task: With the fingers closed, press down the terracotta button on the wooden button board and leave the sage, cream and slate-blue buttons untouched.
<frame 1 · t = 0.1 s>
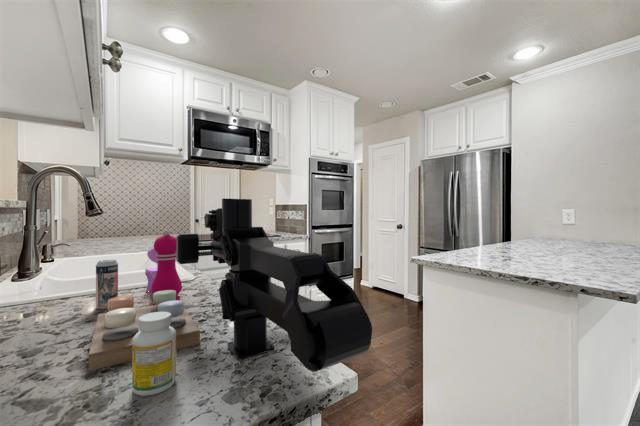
hand: (212, 243, 72), 17 cm above the countertop, tool horizontal, fingers open, 9 cm apart
slate blue button: (171, 308, 56), point 6 cm above the countertop, slide at 0.0 cm
terracotta button: (120, 303, 59), point 6 cm above the countertop, slide at 0.0 cm
wooden button board: (145, 334, 58), on the countertop
sage button: (164, 297, 64), point 6 cm above the countertop, slide at 0.0 cm
supplement bottle: (155, 386, 40), on the countertop
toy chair: (160, 293, 89), on the countertop
beer can: (107, 307, 75), on the countertop
cream button: (120, 317, 51), point 6 cm above the countertop, slide at 0.0 cm
pepper mill: (166, 305, 77), on the countertop
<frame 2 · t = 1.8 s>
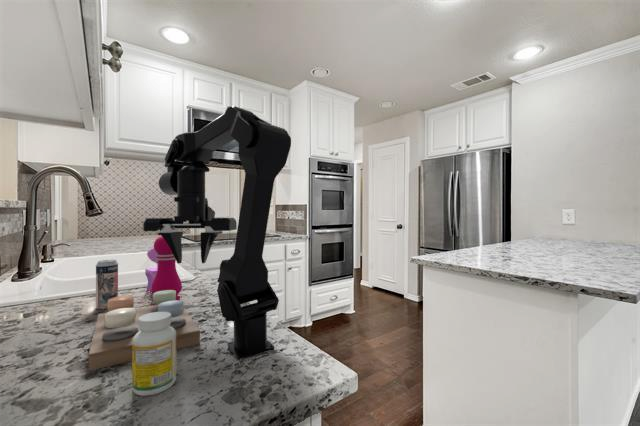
hand: (191, 263, 64), 13 cm above the countertop, tool pointing down, fingers open, 5 cm apart
nothing on the countertop moved.
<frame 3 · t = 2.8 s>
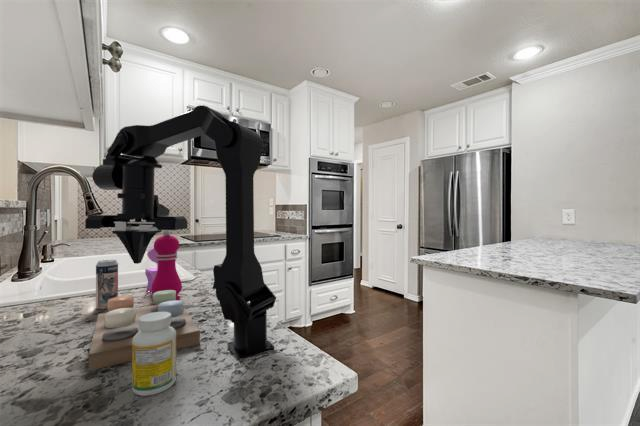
hand: (137, 263, 61), 14 cm above the countertop, tool pointing down, fingers closed
nothing on the countertop moved.
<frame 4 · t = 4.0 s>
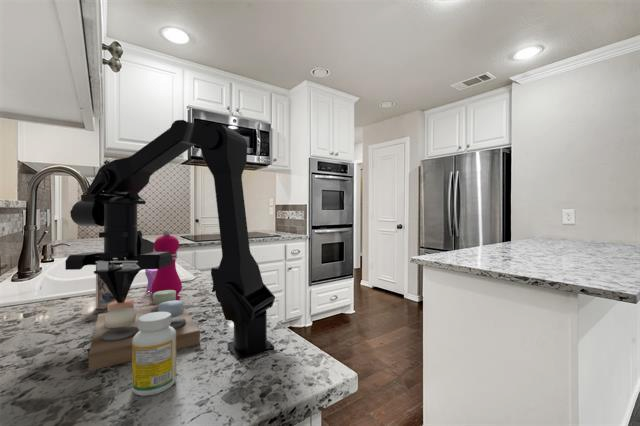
hand: (121, 302, 59), 6 cm above the countertop, tool pointing down, fingers closed, pressing on terracotta button
terracotta button: (120, 307, 59), point 5 cm above the countertop, slide at 0.8 cm, touching gripper
everything else where it was.
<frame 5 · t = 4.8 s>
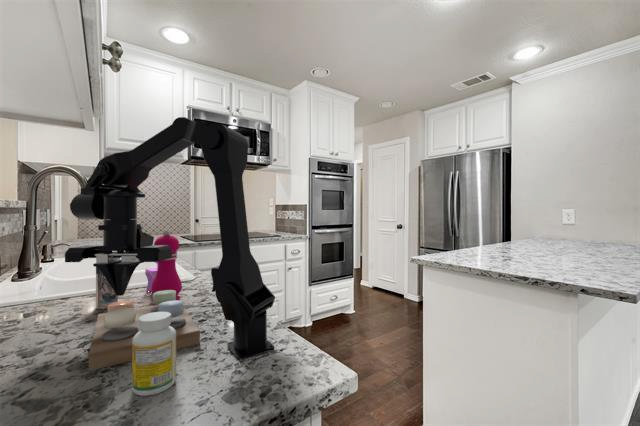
hand: (120, 295, 60), 7 cm above the countertop, tool pointing down, fingers closed
terracotta button: (120, 308, 59), point 5 cm above the countertop, slide at 1.1 cm
everything else where it was.
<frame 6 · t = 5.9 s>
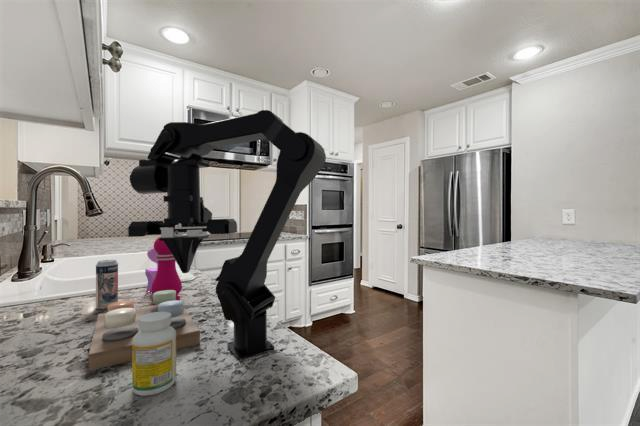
hand: (185, 272, 55), 13 cm above the countertop, tool pointing down, fingers closed
nothing on the countertop moved.
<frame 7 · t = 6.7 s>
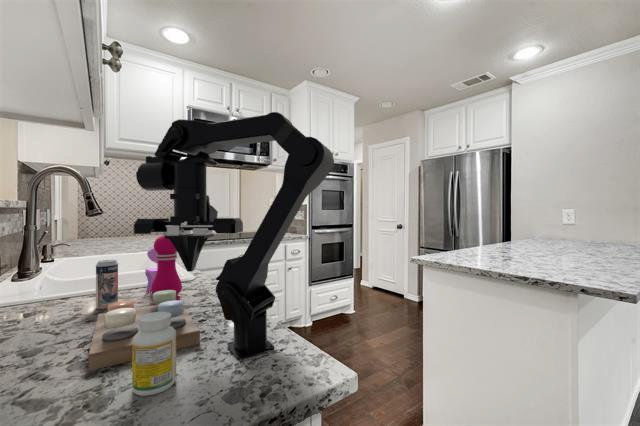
hand: (190, 271, 55), 13 cm above the countertop, tool pointing down, fingers closed
nothing on the countertop moved.
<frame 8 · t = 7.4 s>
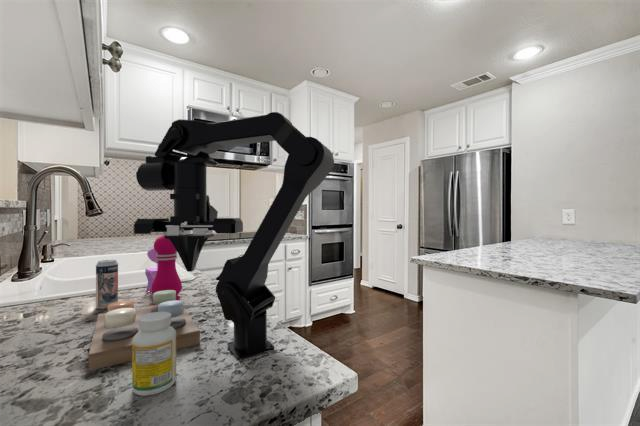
hand: (190, 271, 55), 13 cm above the countertop, tool pointing down, fingers closed
nothing on the countertop moved.
at the end: terracotta button slide at 1.1 cm; sage button slide at 0.0 cm; cream button slide at 0.0 cm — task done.
